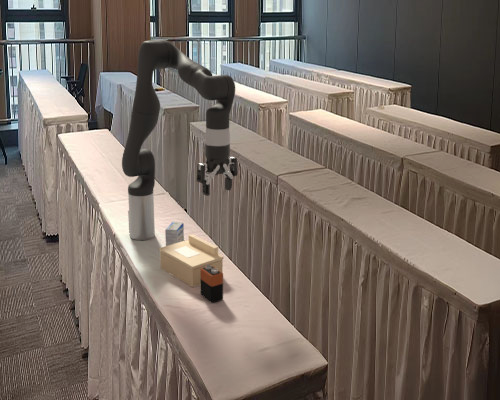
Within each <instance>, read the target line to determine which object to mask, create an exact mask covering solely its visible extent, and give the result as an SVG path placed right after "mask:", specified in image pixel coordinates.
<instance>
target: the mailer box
mask: <svg viewBox="0 0 500 400" xmlns="http://www.w3.org/2000/svg"><path fill="white" fill-rule="evenodd" d="M159 253H160V255H159V257H160V269H161V270H163V271H165V272H166V273H168V274H170V275H171V276H172V277H174V278H177V279H178V280H179V281H181V282H183V283H185V284H187V285H188V286H190V287H192V288H195V287H197V286H201V271H200V270H201V268H204V267H206V266H207V265H205V266H202V267H199V268H196V269H193V270H192V269H190V268H189V267H187V266H185V265H183V264H182V263H180V262H178V261H176V260H175V259H173V258H171V257H169V256H167V255H166V254H164V253H162V252H160V251H159ZM223 262H224V259H223V260H220V261H217V262H214V263H211V264H208V265H211V266H213V267H215V268H216V269H218V270H219V271H221V272H222V273H223Z"/></svg>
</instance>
